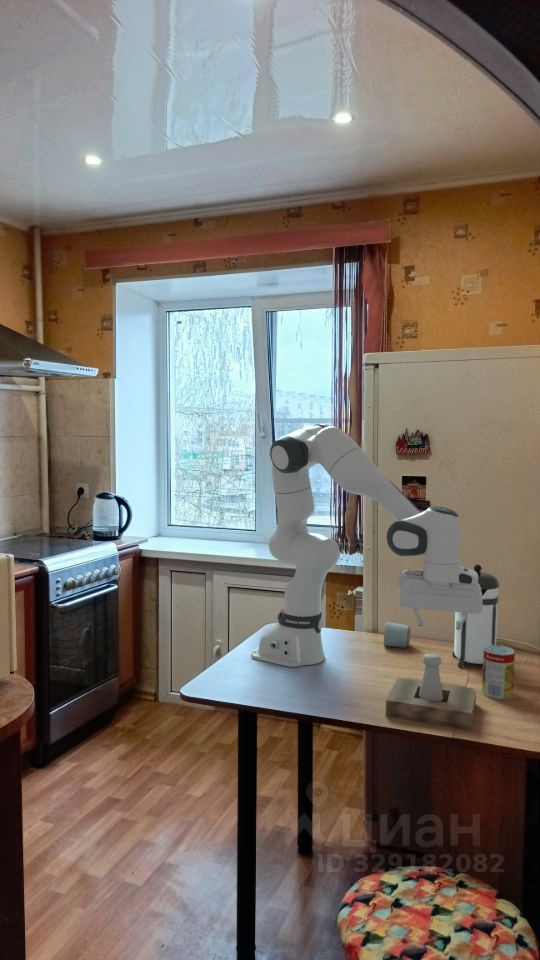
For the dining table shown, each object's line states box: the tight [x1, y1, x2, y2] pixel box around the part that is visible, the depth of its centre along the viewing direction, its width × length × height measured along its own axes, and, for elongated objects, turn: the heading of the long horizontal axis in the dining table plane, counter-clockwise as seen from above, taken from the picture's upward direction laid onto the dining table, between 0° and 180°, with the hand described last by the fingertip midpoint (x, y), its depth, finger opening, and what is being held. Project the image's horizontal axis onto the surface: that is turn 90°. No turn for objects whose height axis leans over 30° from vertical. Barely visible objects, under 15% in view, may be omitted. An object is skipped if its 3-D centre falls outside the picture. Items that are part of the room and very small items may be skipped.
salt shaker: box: [419, 652, 443, 702], centre depth 166 cm, size 6×6×13 cm
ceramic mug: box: [383, 621, 412, 649], centre depth 217 cm, size 11×8×8 cm
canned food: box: [481, 644, 516, 700], centre depth 177 cm, size 8×8×12 cm
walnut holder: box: [385, 677, 477, 731], centre depth 166 cm, size 20×16×4 cm
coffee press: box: [452, 564, 501, 669], centre depth 201 cm, size 17×16×30 cm
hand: (439, 627), depth 166 cm, fingers open, 8 cm apart
